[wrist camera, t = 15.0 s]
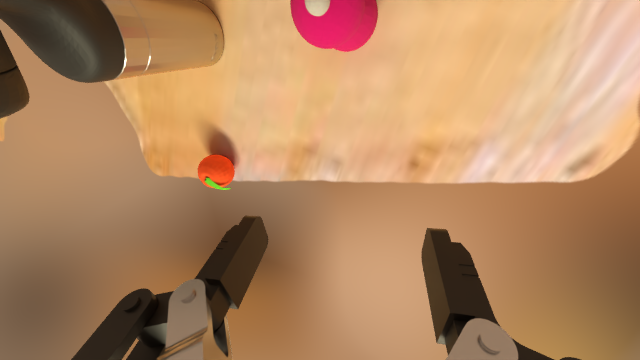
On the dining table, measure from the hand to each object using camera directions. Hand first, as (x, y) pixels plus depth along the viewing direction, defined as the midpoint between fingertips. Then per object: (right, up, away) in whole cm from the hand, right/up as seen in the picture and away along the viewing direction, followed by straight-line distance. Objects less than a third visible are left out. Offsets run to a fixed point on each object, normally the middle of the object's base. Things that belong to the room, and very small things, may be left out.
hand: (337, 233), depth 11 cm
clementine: (-21, +6, +39) cm, 45 cm away
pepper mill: (+4, +25, +21) cm, 33 cm away
